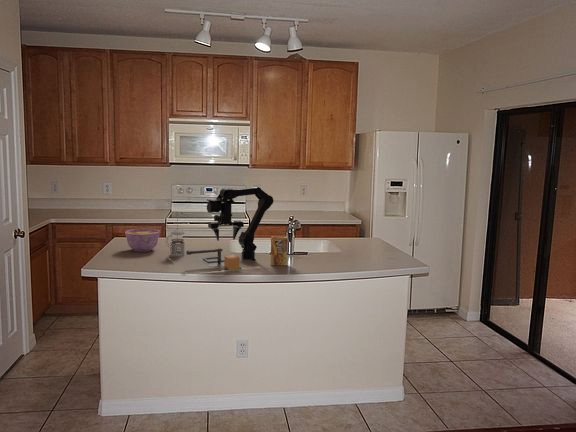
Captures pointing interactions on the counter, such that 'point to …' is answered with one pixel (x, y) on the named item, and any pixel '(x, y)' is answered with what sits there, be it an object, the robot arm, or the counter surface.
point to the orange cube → (231, 262)
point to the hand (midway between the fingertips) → (225, 240)
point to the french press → (173, 244)
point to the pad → (233, 269)
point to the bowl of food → (142, 239)
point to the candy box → (278, 250)
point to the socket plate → (212, 261)
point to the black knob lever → (207, 252)
